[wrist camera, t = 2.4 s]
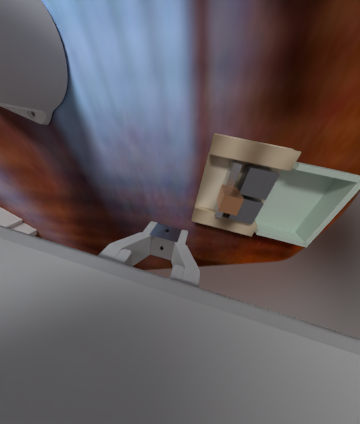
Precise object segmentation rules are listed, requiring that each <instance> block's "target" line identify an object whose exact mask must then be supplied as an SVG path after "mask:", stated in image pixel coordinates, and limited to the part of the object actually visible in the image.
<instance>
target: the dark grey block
mask: <svg viewBox="0 0 360 424" xmlns="http://www.w3.org/2000/svg"><path fill="white" fill-rule="evenodd" d="M279 176H280V174H279V173H277V172H275V171H273V170H271V169H267V168H262V167H257V166H253V165H248V164H245V167H244V169H243V172H242V174H241V176H240V179H239V181H238V184H237V186H236V188H238V189H239V191H240V193H241V195H246V196H250V197H254V198H258V199H263V200H266V199H267V197H268V195H269V193H270V192H271V190H272V188H273V186H274V185H275V183H276V181H277V179H278V177H279Z"/></svg>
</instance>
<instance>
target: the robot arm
mask: <svg viewBox="0 0 360 424" xmlns="http://www.w3.org/2000/svg"><path fill="white" fill-rule="evenodd" d="M66 89H67V64H66V58H65V53H64V49H63V45H62V42H61V39H60V36H59V34H58V31H57V29H56V26H55V24H54V22H53V20H52V18H51V16H50V14H49V12H48V10H47V9H46V7H45V6H44V4H43V2H42V1H41V0H0V106H1V107H3V108H5V109H8V110H10V111H12V112H14V113H17V114H19V115H21V116H23V117H25V118H28V119H30V120H32V121H34V122H37V123H39V124H43V125H48V124H49V123H50V121H51V117H52V112H53V111H54V110H55V109H56V108H57V107H58V106H59V105H60V104H61V102H62V100H63V98H64V96H65V93H66ZM187 235H188V231H186V230H181V229H178V228H174V227H170V226H167V225H164V224H160V223H157V222H153V221H151V222H150V223H149V225H148V226H147V227H146V229H145V230H144V231H143V232H142V233H141V232H140V233H137V234H135V235H132V236H129V237H126V238H124V239H121V240H118V241H116V242H113V243H110V244H109V245H108V246H107V247H106V248H105V249H104V250H103V251H102V252H101V253H100V254H99V255H98V256H96V255H93V254H90V253H87V252H83V251H80V250H77V249H74V248H71V247H68V246H64V245H61V244H58V243H55V242H52V241H48V240H45V239H42V238H39V237H36V236H33V235H29V234H26V233H23V232H20V231H17V230H14V229H10V228H7V227H4V226H1V225H0V424H360V338H357V337H353V336H350V335H347V334H343V333H341V332H337V331H334V330H331V329H328V328H325V327H322V326H318V325H315V324H312V323H309V322H306V321H303V320H299V319H296V318H293V317H290V316H287V315H284V314H280V313H277V312H274V311H271V310H268V309H264V308H261V307H258V306H254V305H251V304H249V303H245V302H242V301H239V300H236V299H233V298H230V297H226V296H223V295H220V294H217V293H213V292H210V291H207V290H204V289H201V288H199V278H200V270H199V268H198V266H197V264H196V262H195V260H194V258H193V257H192V255H191V253H190V251H189V249H188V247H187V245H185V243H186V239H187ZM150 254H151V255H155V256H158V257H162V258H165V259H168V260H171V262H172V266H173V269H172V273H171V276H170V279H169V278H166V277H163V276H160V275H156V274H153V273H150V272H147V271H144V270H141V269H137V268H134V267H132V266H133V265H135V264H136V263H138V262H139V261H141V260H143V259H144V258H146V257H147V256H149V255H150Z"/></svg>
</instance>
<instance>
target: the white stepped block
mask: <svg viewBox="0 0 360 424" xmlns="http://www.w3.org/2000/svg"><path fill="white" fill-rule="evenodd" d="M0 225H1V226H4V227H7V228H10V229H14V230H17V231H20V232H23V233H26V234H29V235H33V236H35V235H37V230H36V229H34V228H32V227H30V226H29V225H27V224H25V223H23V221H22V219H20V218H19V217H17V216H15V215H13V214H11V213H10V212H8V211H6V210H4V209H2V208H1V207H0Z"/></svg>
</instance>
